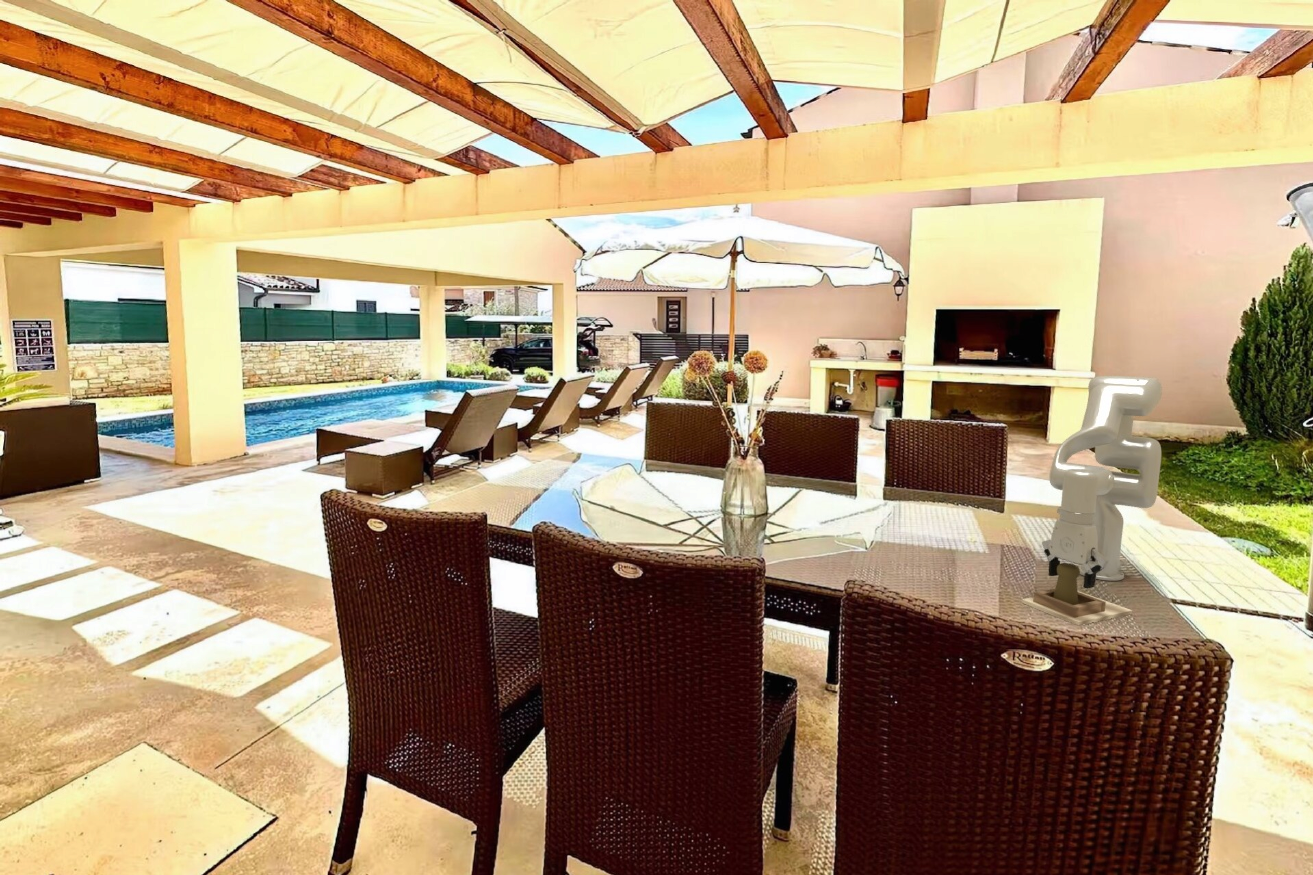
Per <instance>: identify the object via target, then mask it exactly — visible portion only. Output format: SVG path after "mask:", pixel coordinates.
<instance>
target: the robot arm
mask: <svg viewBox="0 0 1313 875" xmlns="http://www.w3.org/2000/svg"><path fill="white" fill-rule="evenodd" d="M1087 390H1088V394H1089V397H1088V399H1087V400H1088V401H1087V405H1086V409H1085V412H1084V416H1083V419H1082V424H1081V427H1080V430H1078V431H1076V432H1075V433H1072V435H1070V436H1069V437H1067V438H1066V439H1065V440H1063V441H1062V443H1060V445H1059V446H1058V447H1057V449H1056V450H1055V453H1054V456H1053V459H1052V460H1053V461H1052V463H1051V466H1050V471H1049V478H1048V479H1049V483H1050V485H1051V487H1052V488H1054V489H1056V490H1059V491H1062V492H1061V504H1060V508H1057V510H1056V513H1057V514H1059V518H1056V520H1055V523H1054V525H1053V529H1052V533H1051V537H1050V539H1046V540H1042V542H1041V544H1042V547H1043V551H1044V554H1045V556H1046V557H1047V558H1046V560H1047V561H1049V562H1048V576H1049V577H1054V576H1055V577H1056V576H1059V575H1058V573H1057V566H1058V565H1059V564H1061V560H1063V561H1067V562H1068V563H1069V562H1070V563H1071V564H1075V565H1076V566H1078V567H1079V569H1080V575H1081V576H1083V588H1084V589H1086V590H1087V589H1092V588H1094V587H1095V585H1096V580H1100V581H1113V582H1116V581H1122V580H1124V578H1125V573H1124V572H1123V571H1121V570H1120V568H1122V567H1126V566H1127V565H1128V561H1127V560H1126V559H1120V558H1121V549H1122V541H1123V540H1122V539H1123V529H1124V517H1123V514H1122V513H1121V512H1120V510H1119V509H1118V507H1117V506H1126V507H1131V508H1133V507H1134V508H1138V509H1139V508H1141V509H1148V508H1149V509H1150V508H1151V507H1153V506H1154V505H1155V503H1156V500H1157V497H1158V490H1159V480H1160V474H1161V473H1160V471H1161V465H1162V463H1161V462H1162V447H1161V444H1160V442H1159V441H1158V440H1157V439H1155V438H1152V437H1145V436H1133V433H1132V432H1133V424H1134V418H1133V417H1146V416H1149V415H1150V414H1151V413H1152V412H1153V411H1154V410H1155V408H1156V407H1157V406H1158V404H1159V402H1160V400H1161V397H1162V394H1163V387H1162V383H1161V381H1160V380H1159V379H1157V378H1155V377H1149V376H1148V377H1147V376H1129V375H1128V376H1125V375H1101V376H1095V377H1092V379H1090V381H1088V389H1087ZM1093 448H1094V458H1095V461H1096V463H1097V464H1099V465H1102V466H1098V465H1088V464H1082V463H1073V462H1068V460H1069V459H1070V458H1071V457H1073V456H1074V455H1075V454H1077V453H1080V452H1082V451H1087V450H1090V449H1093ZM1103 466H1106V467H1103ZM1107 467H1111V468H1121V469H1128V470H1136V471H1138V474H1136V473H1129V472H1121V471H1113V470H1110V469H1108V468H1107Z"/></svg>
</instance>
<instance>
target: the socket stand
mask: <svg viewBox="0 0 1313 875" xmlns="http://www.w3.org/2000/svg"><path fill="white" fill-rule="evenodd" d="M1054 592H1055V588H1051V589H1046V590H1042V591H1041V590H1040V591H1037V592H1036V591H1035V592H1033V597H1026V598H1022V599H1021V603H1022V604H1023V605H1024V604H1025V605H1026V606H1028V607H1031V608H1034V609H1036V610H1039V611H1041V612H1044V613H1046V614H1049V615H1051V616H1053V617H1055V618H1057V619H1060V620H1063V621H1065V620H1067V621H1066V622H1068V621H1069V623H1070V622H1072V623H1071V624H1073V625H1075V624H1076V625H1075V626H1077V627H1079V626H1084V625H1083V624H1085V625H1088V624H1093V623H1092V622H1094V623H1098V621H1099V622H1101V621H1100V620H1103V621H1107V620H1111V618H1112V619H1116V618H1120V617H1125V616H1130V615H1132V614H1133V610H1132V609H1129V608H1126V607H1124V606H1122V605H1118V604H1115V603H1113V602H1110V601H1107V600H1104V599H1102V598H1098V597H1096V596H1093V595H1090V594H1087V593H1085V592H1082V591H1080V590H1077V593H1078V604H1077V605H1071V604H1068V603H1066V602H1063V601H1061V600H1058V599H1055V598H1053V596H1054Z"/></svg>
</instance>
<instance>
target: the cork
mask: <svg viewBox="0 0 1313 875" xmlns="http://www.w3.org/2000/svg"><path fill="white" fill-rule="evenodd" d="M1076 565H1077V564H1075V563H1071V562H1070V563H1069V562H1068V563H1067V562H1060V564H1059V565H1058V566H1057V573H1058V575H1057V581H1056V584H1055V588H1054V589H1055V592H1054V596H1053V598H1055V599H1058V600H1061V601H1063V602H1066V603H1068V604H1071V605H1077V604H1078V593H1077V591H1078V579H1077V578H1079V577H1080V575H1081V574H1080V569H1079V567H1078V566H1076Z"/></svg>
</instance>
